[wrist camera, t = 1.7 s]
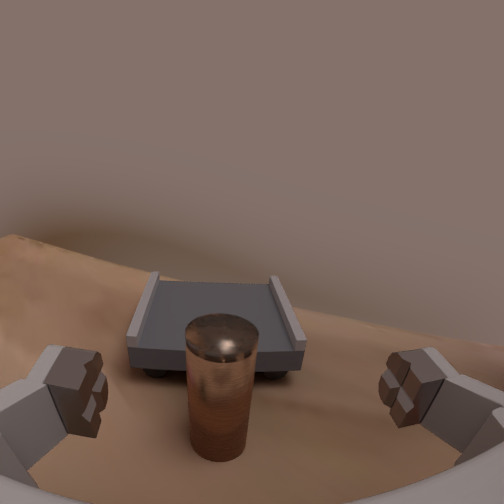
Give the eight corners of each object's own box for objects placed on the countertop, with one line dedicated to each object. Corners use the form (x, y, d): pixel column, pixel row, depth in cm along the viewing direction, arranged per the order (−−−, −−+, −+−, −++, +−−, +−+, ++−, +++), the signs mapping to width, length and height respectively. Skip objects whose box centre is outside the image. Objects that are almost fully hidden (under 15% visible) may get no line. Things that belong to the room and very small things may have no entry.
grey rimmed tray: (272, 315, 54) (277, 276, 52) (296, 387, 37) (306, 340, 35) (153, 312, 51) (151, 271, 49) (134, 384, 34) (126, 335, 32)
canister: (242, 421, 31) (254, 313, 27) (248, 461, 26) (264, 354, 21) (191, 420, 31) (187, 312, 26) (190, 461, 25) (182, 353, 21)
